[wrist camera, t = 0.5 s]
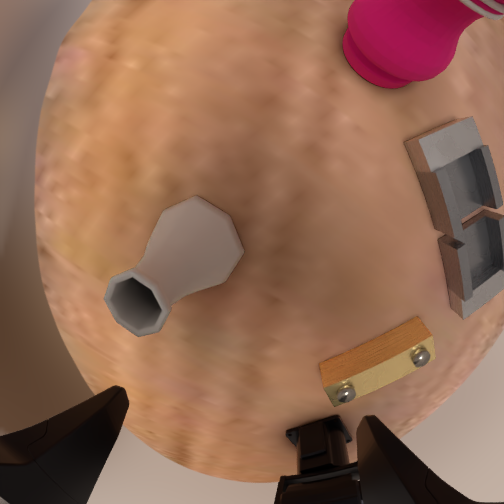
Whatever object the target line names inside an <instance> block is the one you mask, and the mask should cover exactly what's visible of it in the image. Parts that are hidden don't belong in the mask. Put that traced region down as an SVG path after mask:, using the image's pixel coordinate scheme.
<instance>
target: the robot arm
mask: <svg viewBox="0 0 504 504" xmlns="http://www.w3.org/2000/svg"><path fill="white" fill-rule="evenodd" d="M128 407H129V400H128V397H127V393H126V390H125V389H124V388H123V387H120V386H117V385H115V386H112V387H110V388H108V389H107V390H105V391H103V392H101V393H99V394H97V395H95V396H93V397H91V398H89V399H88V400H86V401H84V402H82V403H80V404H78V405H76V406H74V407H72V408H70V409H68V410H66V411H64V412H62V413H60V414H58V415H55V416H53V417H51V418H49V420H45V421H43V422H41V423H38V424H36V425H34V426H31V427H28V428H25V429H23V430H20V431H16V432H13V433H10V434H6V435H3V436H0V504H86V503H87V501H88V499H89V497H90V495H91V493H92V490H93V488H94V486H95V484H96V482H97V480H98V477H99V475H100V473H101V471H102V469H103V467H104V465H105V463H106V460H107V458H108V456H109V454H110V452H111V450H112V448H113V446H114V444H115V442H116V440H117V437H118V435H119V433H120V430H121V427H122V424H123V421H124V419H125V416H126V413H127V410H128ZM356 435H357V458H358V461H357V462H354V463H349V457H348V451H347V446H346V443H349V442H351V441H352V437H351V435H350V433H349V432H348V430H347V428H346V426H345V425H344V423H343V421H342V419H341V418H340V416H338V415H336V416H332V417H330V418H327V419H324V420H321V421H318V422H315V423H312V424H308V425H305V426H302V427H298V428H295V429H291V430H288V431H286V436H287V438H288V439H289V440H290V441H291V442H292V443H293V444H294V445H295V446H296V447H297V475H291V476H281V477H280V482H279V483H278V488H277V492H276V497H275V502H274V504H504V502H498V503H497V502H496V503H493V502H490V503H485V502H476V501H473V500H471V499H469V498H467V497H465V496H464V495H463V494H461V493H460V492H458V491H457V490H455V489H454V488H453V487H451V486H450V485H448V484H447V483H446V482H444V481H443V480H442V479H441V478H439V477H438V476H437V475H436V474H435V473H434V472H433V471H432V470H431V469H430V468H428V466H426V465H425V464H424V463H423V462H422V461H421V460H420V459H419V458H418V457H417V456H416V455H415V454H414V453H413V452H412V451H411V450H410V449H409V448H408V447H407V446H406V445H405V444H404V443H403V442H402V441H400V440H399V439H398V438H397V437H396V436H395V435H394V434H393V433H392V432H391V431H390V430H389V429H388V428H387V427H386V426H385V425H384V424H383V423H382V422H381V421H380V420H379V419H378V418H377V417H376V416H375V415H366V416H364V417H363V418H362V420H361V422H360V424H359V426H358V428H357V433H356ZM358 480H360V481H358Z"/></svg>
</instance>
